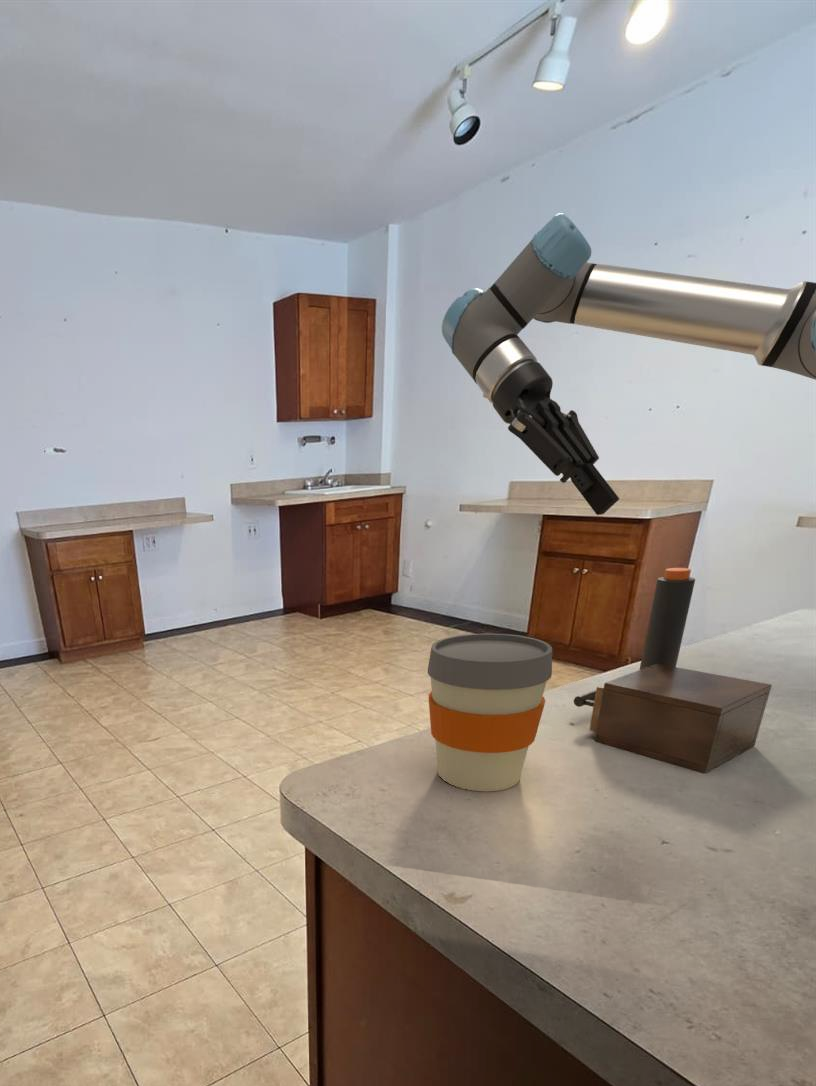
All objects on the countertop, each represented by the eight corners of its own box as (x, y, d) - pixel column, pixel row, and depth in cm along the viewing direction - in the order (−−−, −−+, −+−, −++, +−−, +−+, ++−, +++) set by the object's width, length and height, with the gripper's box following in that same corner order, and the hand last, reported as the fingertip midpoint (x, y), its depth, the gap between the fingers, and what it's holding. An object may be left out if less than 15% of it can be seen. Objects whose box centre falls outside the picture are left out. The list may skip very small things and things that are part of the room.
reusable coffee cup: (415, 792, 71) (421, 660, 65) (428, 748, 81) (435, 632, 75) (538, 805, 66) (558, 665, 60) (536, 757, 77) (552, 634, 70)
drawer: (560, 722, 84) (566, 680, 81) (606, 704, 89) (613, 663, 86) (687, 758, 72) (698, 709, 69) (731, 734, 76) (744, 688, 74)
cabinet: (594, 740, 80) (604, 682, 77) (644, 718, 85) (656, 663, 82) (705, 773, 70) (722, 708, 67) (754, 746, 75) (772, 684, 72)
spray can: (665, 696, 92) (693, 566, 85) (674, 707, 88) (705, 571, 81) (627, 695, 94) (652, 567, 86) (635, 705, 90) (661, 572, 82)
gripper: (524, 406, 98) (612, 522, 92) (467, 407, 92) (558, 532, 86) (561, 359, 92) (658, 481, 86) (502, 358, 86) (602, 488, 80)
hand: (608, 506), depth 86 cm, fingers closed
